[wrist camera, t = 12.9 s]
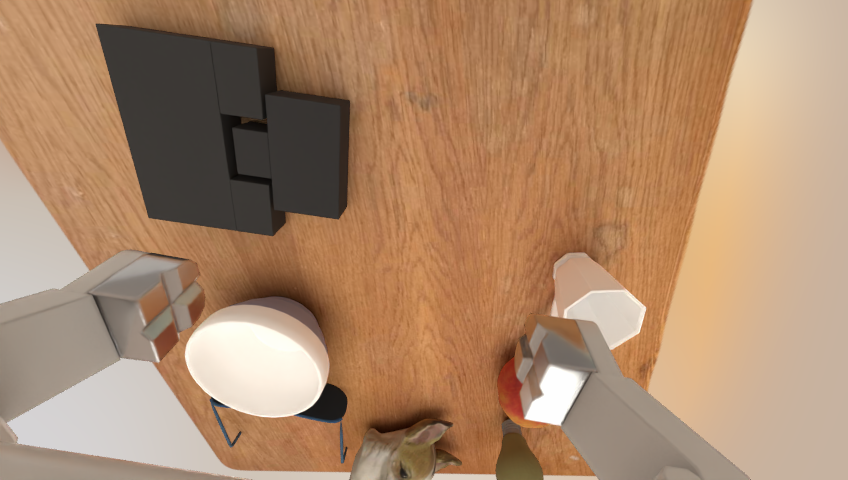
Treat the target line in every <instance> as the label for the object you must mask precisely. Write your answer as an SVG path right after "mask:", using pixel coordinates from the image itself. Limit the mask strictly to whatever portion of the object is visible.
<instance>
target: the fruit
mask: <svg viewBox="0 0 848 480" xmlns="http://www.w3.org/2000/svg"><path fill="white" fill-rule="evenodd" d="M514 358H515V357H513V358H512V359H511V360H509V361H508V362H507V363H506V364H505V365H504V367H503V368H502V370H501V372H500V374H499V377H498V383H497V387H498V393H499V402H500V405H501V407H502V409H503V410H504V412H505V413H506V414H507V416H508V417H509V418H510V419H511V420H512V421H513V422H514V423H516V424H517V425H520V426H523V427H526V428H542V427H545V426H548V425H550V424H548V423H543V422H537V421H532V420H526V419H524V416H523V410H522V405H521V400H520V395H519V392H520V390H521V387H522V385H523V384H522V383H521V382H520V381H519V379H518V378H517V377H516V373H515V362H514Z"/></svg>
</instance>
